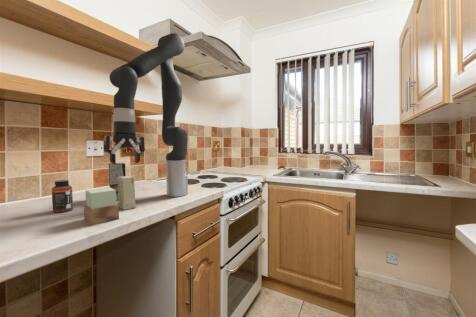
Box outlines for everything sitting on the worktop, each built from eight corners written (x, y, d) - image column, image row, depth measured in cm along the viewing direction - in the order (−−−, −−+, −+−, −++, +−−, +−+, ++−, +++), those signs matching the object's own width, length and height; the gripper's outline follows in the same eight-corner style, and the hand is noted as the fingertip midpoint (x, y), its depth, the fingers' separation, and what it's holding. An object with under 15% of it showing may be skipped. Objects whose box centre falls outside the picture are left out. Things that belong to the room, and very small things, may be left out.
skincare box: (135, 208, 86) (135, 177, 85) (124, 210, 83) (123, 178, 82) (129, 204, 91) (129, 175, 90) (118, 206, 87) (117, 176, 87)
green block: (109, 201, 78) (109, 187, 77) (116, 204, 73) (115, 190, 73) (86, 205, 73) (85, 190, 72) (91, 209, 68) (91, 193, 68)
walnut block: (111, 214, 79) (110, 200, 78) (119, 219, 73) (118, 204, 73) (84, 219, 73) (83, 205, 73) (90, 226, 67) (90, 210, 67)
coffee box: (126, 199, 100) (125, 163, 99) (110, 201, 96) (108, 164, 95) (124, 195, 107) (123, 162, 106) (109, 196, 104) (108, 162, 103)
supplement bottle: (74, 210, 83) (73, 180, 82) (54, 214, 78) (52, 182, 78) (71, 207, 87) (69, 178, 86) (51, 210, 82) (49, 180, 81)
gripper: (139, 123, 92) (139, 161, 93) (100, 120, 82) (101, 163, 83) (147, 122, 87) (147, 162, 88) (107, 118, 77) (108, 165, 78)
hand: (125, 163), depth 86 cm, fingers open, 8 cm apart
